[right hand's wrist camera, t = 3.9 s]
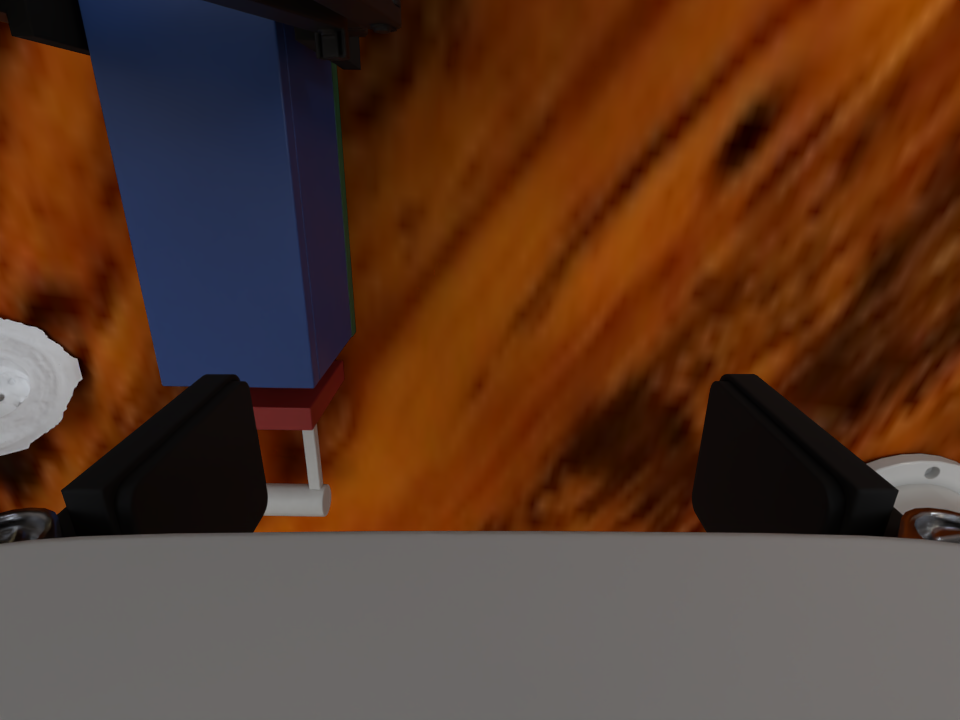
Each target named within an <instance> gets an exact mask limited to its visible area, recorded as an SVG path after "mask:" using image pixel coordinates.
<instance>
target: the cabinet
mask: <svg viewBox="0 0 960 720" xmlns="http://www.w3.org/2000/svg"><path fill="white" fill-rule="evenodd" d="M78 2H79V6H80V11H81V16H82V20H83V25H84V29H85V34H86V38H87V43H88V48H89V52H90V57H91V61H92V66H93V70H94V75H95V80H96V84H97V89H98V93H99V98H100V102H101V107H102V112H103V116H104V121H105V125H106V130H107V134H108V139H109V144H110V148H111V153H112V157H113V162H114V167H115V171H116V176H117V180H118V185H119V189H120V194H121V199H122V203H123V208H124V212H125V217H126V221H127V226H128V231H129V235H130V240H131V244H132V249H133V253H134V258H135V263H136V267H137V272H138V276H139V281H140V285H141V290H142V295H143V299H144V304H145V308H146V313H147V318H148V322H149V327H150V331H151V336H152V340H153V345H154V350H155V354H156V359H157V363H158V368H159V372H160V377H161V382H162V385H163V386H191V385H192V384H193V383H194V382H196V381H197V380H198V379H199V378H201V377H202V376H203V375H205V374H235V375H237V376H238V377H239V379H240V381H245V382H247V383H248V385H249V387H258V388H314V387H315V386H316V385H317V383H318V382H319V380H320V379H321V378H322V376H323V375H324V374H325V372H326V371H327V369H328V368H329V367H330V365H331V364H332V363H333V361H334V360H335V359H336V357H337V356H338V354H339V353H340V352H341V350H342V349H343V348H344V346H345V345H346V343H347V342H348V341H349V339H350V338H351V337H353V335H354V334H355V332H356V326H355V312H354V298H353V285H352V271H351V257H350V244H349V230H348V216H347V202H346V189H345V175H344V161H343V148H342V134H341V120H340V107H339V93H338V79H337V66H336V64H334V63H332V62H331V61H329V60H321V59H317V58H316V52H314V51H313V50H311V49H309V48H308V47H306V46H304V45H303V44H301V43H299V42H298V41H296V40H295V31H294V26H291V25H287V24H284V23H280V22H277V21H273V20H270V19H266V18H263V17H259V16H256V15H252V14H249V13H245V12H242V11H238V10H234V9H231V8H227V7H224V6H220V5H217V4H213V3H210V2H206V1H203V0H78Z"/></svg>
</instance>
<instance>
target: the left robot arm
mask: <svg viewBox="0 0 960 720" xmlns="http://www.w3.org/2000/svg"><path fill="white" fill-rule="evenodd" d="M203 1H206V2H210V3H213V4H217V5H220V6H224V7H227V8H231V9H234V10H238V11H242V12H245V13H249V14H252V15H256V16H259V17H263V18H266V19H270V20H273V21H277V22H280V23H284V24H287V25H291V26H294V31H295V40H296V41H298V42H299V43H301V44H303V45H304V46H306V47H308V48H309V49H311V50H313V51H314V52H316V58H317V59H321V60H329V61H331V62H332V63H334V64H336V65H337V66H339V67H341V68H342V69H348V70H361V65H360V48H359V37H366V36H367V35H368V29H372V30H374V32H375V33H380V34H387V33H390V32H394V31H397V30H398V29H400V28H401V27H402V26H401V0H203ZM0 21H1V22H5V23H9V27H10V30H11V34H12V36H15V37H19V38H23V39H27V40H30V41H34V42H38V43H42V44H46V45H50V46H54V47H58V48H62V49H66V50H70V51H74V52H78V53H82V54H86V55H90V52H89V48H88V43H87V38H86V34H85V29H84V25H83V20H82V16H81V11H80V6H79V2H78V0H0Z"/></svg>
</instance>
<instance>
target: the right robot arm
mask: <svg viewBox="0 0 960 720" xmlns="http://www.w3.org/2000/svg"><path fill="white" fill-rule="evenodd" d="M61 492H62V495H63V498H64V501H65V504H66V508H64V509H63V510H62V511H61V512H60V513H59V514H57V515H56V513H55V512H53V511H51V510H48V509H46V508H23V509H15V510H10V511H6V512H2V513H0V720H960V464H959V463H958V462H956V461H953V460H950V459H947V458H944V457H941V456H935V455H928V454H901V455H896V456H891V457H886V458H881V459H878V460H875V461H873V462H870V463H867V464H866V463H864V462H863V461H862V460H861V459H859V458H858V457H857V456H856V455H855V454H853V453H852V452H851V451H850V450H848V449H847V448H846V447H845V446H843V445H842V444H841V443H840V442H838V441H837V440H836V439H835V438H834V437H832V436H831V435H830V434H829V433H827V432H826V431H825V430H824V429H822V428H821V427H820V426H819V425H817V424H816V423H815V422H814V421H813V420H811V419H810V418H809V417H808V416H806V415H805V414H804V413H803V412H801V411H800V410H799V409H798V408H796V407H795V406H794V405H793V404H792V403H790V402H789V401H788V400H787V399H785V398H784V397H783V396H782V395H780V394H779V393H778V392H777V391H775V390H774V389H773V388H772V387H771V386H769V385H768V384H767V383H766V382H764V381H763V380H762V379H761V378H759V377H758V376H757V375H755V374H725V375H723V376H722V377H721V379H720V381H715V382H713V383H712V385H711V388H710V393H709V399H708V405H707V411H706V416H705V422H704V428H703V434H702V440H701V445H700V451H699V457H698V463H697V469H696V474H695V480H694V486H693V492H692V504H693V508H694V511H695V513H696V515H697V517H698V518H699V520H700V522H701V523H702V525H703V527H704V528H705V530H706V532H707V533H701V532H583V531H355V532H262V533H253V532H254V530H255V528H256V527H257V525H258V523H259V522H260V520H261V518H262V517H263V515H264V513H265V511H266V508H267V504H268V492H267V486H266V480H265V474H264V469H263V463H262V457H261V451H260V445H259V440H258V434H257V428H256V422H255V416H254V411H253V405H252V399H251V393H250V388H249V385H248V383H247V382H245V381H240V379H239V377H238V376H237V375H235V374H205V375H203V376H202V377H201V378H199V379H198V380H197V381H196V382H194V383H193V384H192V385H191V386H189V387H188V388H187V389H186V390H185V391H183V392H182V393H181V394H180V395H178V396H177V397H176V398H175V399H173V400H172V401H171V402H170V403H168V404H167V405H166V406H165V407H164V408H162V409H161V410H160V411H159V412H157V413H156V414H155V415H154V416H152V417H151V418H150V419H149V420H147V421H146V422H145V423H144V424H143V425H141V426H140V427H139V428H138V429H136V430H135V431H134V432H133V433H131V434H130V435H129V436H128V437H126V438H125V439H124V440H123V441H122V442H120V443H119V444H118V445H117V446H115V447H114V448H113V449H112V450H110V451H109V452H108V453H107V454H105V455H104V456H103V457H102V458H101V459H99V460H98V461H97V462H96V463H94V464H93V465H92V466H91V467H89V468H88V469H87V470H86V471H84V472H83V473H82V474H81V475H80V476H78V477H77V478H76V479H75V480H73V481H72V482H71V483H70V484H68V485H67V486H66V487H65V488H63V489H62V490H61Z"/></svg>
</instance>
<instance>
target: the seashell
mask: <svg viewBox="0 0 960 720" xmlns="http://www.w3.org/2000/svg"><path fill="white" fill-rule="evenodd" d="M81 380H82V375H81V371H80V368H79V364H78V359H77V358H73V357H72V356H69V354H68V353H67V352H65V351H64V350H63V347H61V346H60V345H59V344H56V343H55V342H54V341H52V340H51V339H49V338H47V336H46V335H45V332H43V331H42V330H40V329H38V328H37V327H32V326H27V325H24V324H22V323H19V322H14V321H11V320H8V319H6V320H3V319H2V318H0V456H1V455H5V454H9V453H13V452H17V451H20V450H24V449H27V448H29V446H30V443H32V442H33V441H34V440H36V439H37V438H39V437H40V436H41V435H43V434H44V433H47V432H48V431H49V430H50V429H52V428H54V427H55V425H58V424H59V422H60V421H61V420H62V418H63V412H64V411H65V410H66V409H67V404H68V403H69V401H70V399H71V397H72V396H73V391H74V388H75V387H76V386H77V385H78V382H79V381H81Z"/></svg>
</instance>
